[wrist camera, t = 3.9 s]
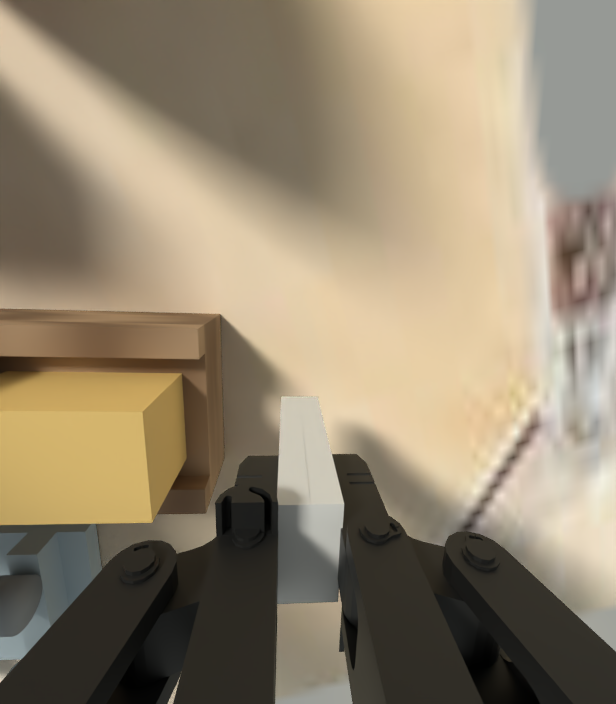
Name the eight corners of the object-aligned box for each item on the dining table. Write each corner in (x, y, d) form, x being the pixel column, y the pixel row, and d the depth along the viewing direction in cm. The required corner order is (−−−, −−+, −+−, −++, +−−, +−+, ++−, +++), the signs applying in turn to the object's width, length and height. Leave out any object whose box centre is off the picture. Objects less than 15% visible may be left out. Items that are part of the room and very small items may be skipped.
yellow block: (23, 458, 15) (-72, 526, 11) (7, 371, 14) (-104, 410, 10) (186, 458, 15) (152, 522, 11) (181, 373, 14) (142, 412, 10)
